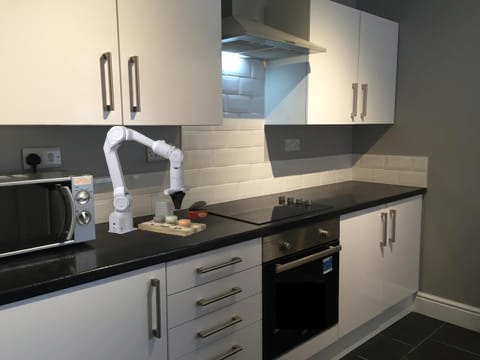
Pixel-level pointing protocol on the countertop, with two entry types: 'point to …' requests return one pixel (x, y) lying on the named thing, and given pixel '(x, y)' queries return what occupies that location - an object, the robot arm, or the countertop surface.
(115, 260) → the countertop surface
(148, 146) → the robot arm
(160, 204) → the medicine box
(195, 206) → the canned food
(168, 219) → the sage button
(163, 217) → the grey button
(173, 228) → the button board
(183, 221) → the terracotta button
